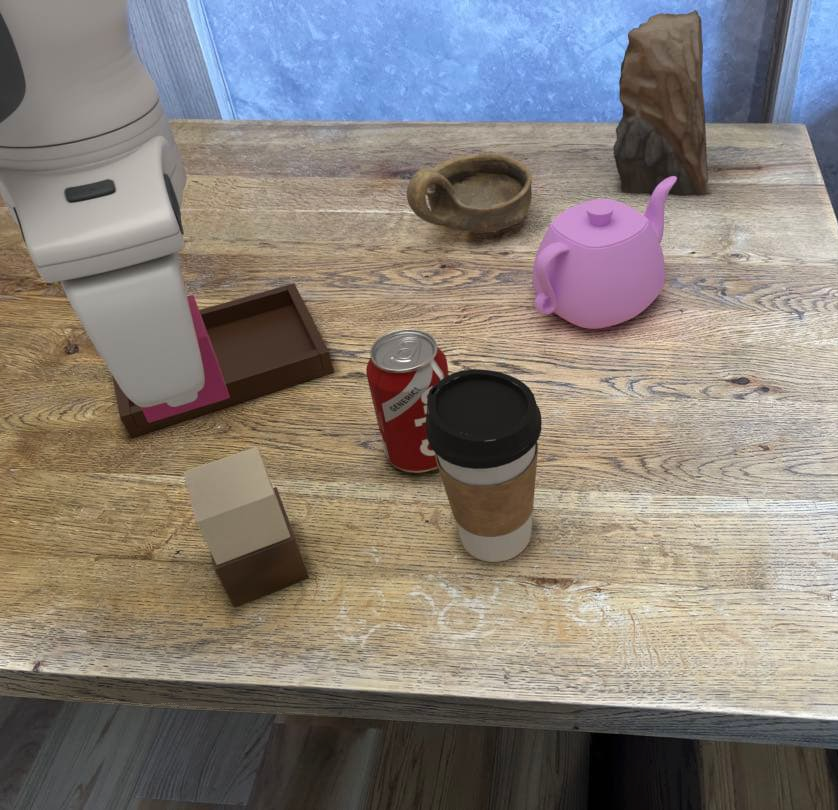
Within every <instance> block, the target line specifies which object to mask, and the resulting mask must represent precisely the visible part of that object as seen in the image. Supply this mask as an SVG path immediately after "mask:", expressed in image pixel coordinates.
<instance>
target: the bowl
mask: <svg viewBox="0 0 838 810" xmlns="http://www.w3.org/2000/svg"><path fill="white" fill-rule="evenodd" d="M532 182H533V175H532V173H531V170H530V169H529V168H528V167H527V166H526V165H525V164H523V163H522V162H521V161H519V160H517V159H515V158H514V157H512V156H509V155H506V154H503V153H496V152H495V153H494V152H485V153H484V152H483V153H479V154H467V155H457V156H455V157H452V158H449V159H447V160H445V161H442V162H441V163H438V165H436V166H435V167H434V168H432V169H431V168H428V167H425V168H422V169H419V170H418V171H416V172H415V173H414V174H413V175H412V177H411V178H410V180H409V181H408V185H407V188H406V200H407V203H408V205H409V207H410V209H411V211H412V212H413V213H414V214H415V215H416V216H417V217H418V218H420V219H421V220H423V221H425V222H427V223H429V224H431V225H432V224H433V225H435V226H440V227H441V226H442V227H445V228H447V229H453V230H458V231H463V232H468V233H477V234H479V233H482V234H483V233H491V232H492V233H496V232H497V231H499V230H502V229H506V228H509V227H511V226H513V225H514V226H515V225H516V224H519V223H520V222H522V221H523V220H524V219H525V217H526V215H527V213H528V212H529V209H530V206H531V202H532V197H533V192H532V191H533V190H532ZM426 197H427V199H428V204H429V206H428V204H427V199H426Z"/></svg>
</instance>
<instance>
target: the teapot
mask: <svg viewBox="0 0 838 810" xmlns="http://www.w3.org/2000/svg"><path fill="white" fill-rule="evenodd" d="M676 180H677V177H676V176H671V177H668V178H666V179H665V180H663V181H662V182H661V183H660V184H658V186H657V187H656V188H655V190H654V192H653V194H651V196H650V198H649V201H648V203H647V205H646V209H645V211H644V213H641V212H640V211H639V210H637V209H635V208H633V207H631V206H630V205H627V204H625V203H622V202H620V201H617V200H614V199H610V198H598V199H597V198H596V199H593V200H588V201H584V202H582V203H578V204H575V205H573V206H571V207H569V208H568V209H566V210H564V211H562V212H561V213H560V214H558V215H557V216H556V217H555V218H554V219H553V220H552V221H551V223H550V224H549V226H548V227H547V229H546V231H545V234H544V235H543V237H542V239H541V242H540V244H539V246H538V247H537V250H536V253H535V257H534V261H533V265H532V266H533V268H532V275H531V284H532V288H533V290H534V293H535V295H536V297H535V298H534V301H533V307H534V309H535V311H536V312H537V313H538V314H540V315H550V314H553V313H554V314H555V315H557V316H558V317H559V318H562V319H563V320H565V321H567V322H569V323H571V324H572V325H574V326H577V327H580V328H585V329H590V330H592V329H604V328H609V327H613V326H616V325H618V324H622V323H624V322H627V321H629V320H631V319H633V318H635V317H637V316H638V315H639V314H641V313H642V312H644V311H645V310H646V309H647V308H648V307H649V306H650V305H652V303H653V302H654V301H655V300H656V299H657V297H658V296H659V295H660V294H661V292H662V290H663V289H664V286H665V283H666V264H665V257H664V256H665V255H664V253H663V248H662V246H661V243H662V240H663V238H664V230H665V209H666V201H667V198H668V195H669V194H668V193H669V191H670V189H671V188H672V186H673V185H674V184H675V182H676Z"/></svg>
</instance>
